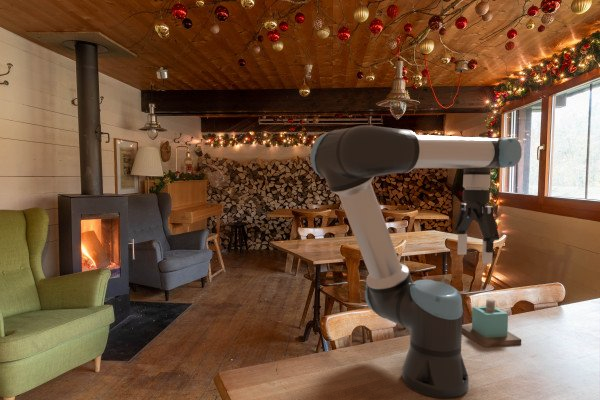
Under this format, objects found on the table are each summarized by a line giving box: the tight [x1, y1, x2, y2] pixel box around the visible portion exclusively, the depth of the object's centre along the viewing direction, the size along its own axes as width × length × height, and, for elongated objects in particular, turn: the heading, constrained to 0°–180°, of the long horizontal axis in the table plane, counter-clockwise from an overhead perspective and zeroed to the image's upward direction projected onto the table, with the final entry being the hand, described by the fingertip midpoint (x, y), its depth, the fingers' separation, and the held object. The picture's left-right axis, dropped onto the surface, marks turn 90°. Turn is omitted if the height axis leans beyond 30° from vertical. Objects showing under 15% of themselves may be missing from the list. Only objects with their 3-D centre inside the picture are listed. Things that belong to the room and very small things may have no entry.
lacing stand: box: [462, 298, 522, 348], centre depth 119 cm, size 12×12×12 cm
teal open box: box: [471, 305, 509, 338], centre depth 119 cm, size 7×7×7 cm
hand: (473, 258), depth 119 cm, fingers open, 13 cm apart
